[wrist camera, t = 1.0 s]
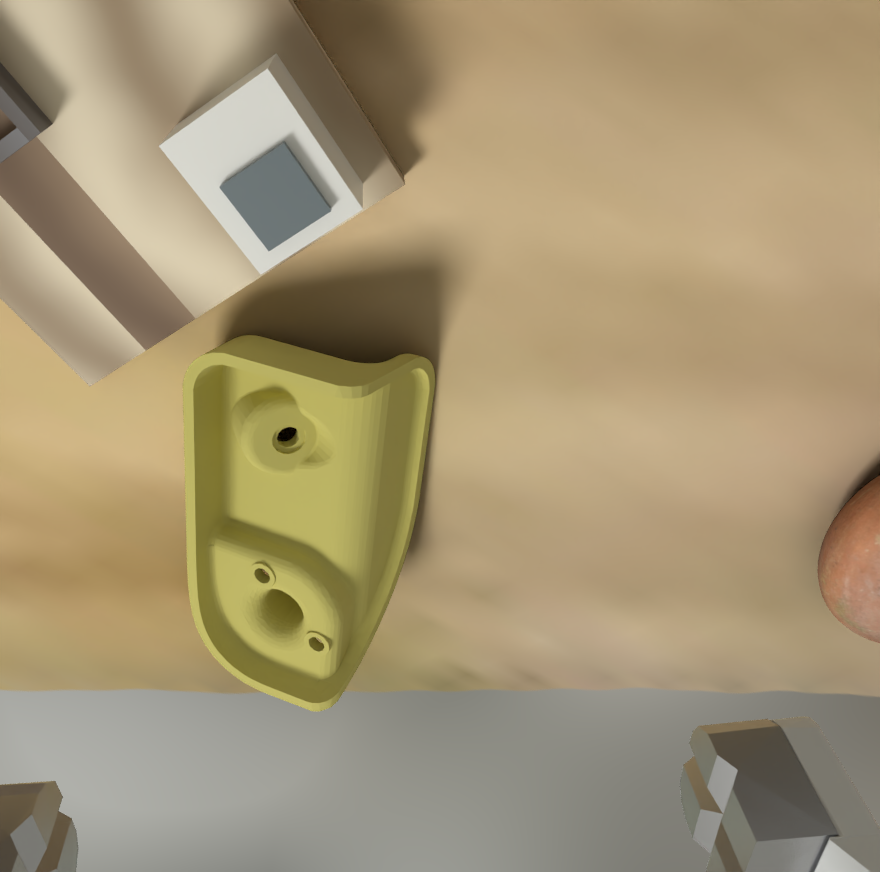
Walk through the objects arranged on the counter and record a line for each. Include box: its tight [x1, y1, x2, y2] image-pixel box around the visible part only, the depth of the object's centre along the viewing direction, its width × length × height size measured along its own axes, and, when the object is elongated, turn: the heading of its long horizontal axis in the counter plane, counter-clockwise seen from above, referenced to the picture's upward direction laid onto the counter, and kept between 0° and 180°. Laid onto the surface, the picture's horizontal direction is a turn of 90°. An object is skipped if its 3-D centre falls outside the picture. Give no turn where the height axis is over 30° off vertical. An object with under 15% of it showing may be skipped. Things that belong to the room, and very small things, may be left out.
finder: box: [159, 53, 363, 275], centre depth 32 cm, size 6×5×4 cm
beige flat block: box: [0, 0, 405, 386], centre depth 33 cm, size 18×16×3 cm
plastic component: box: [183, 335, 435, 711], centre depth 43 cm, size 20×7×10 cm
